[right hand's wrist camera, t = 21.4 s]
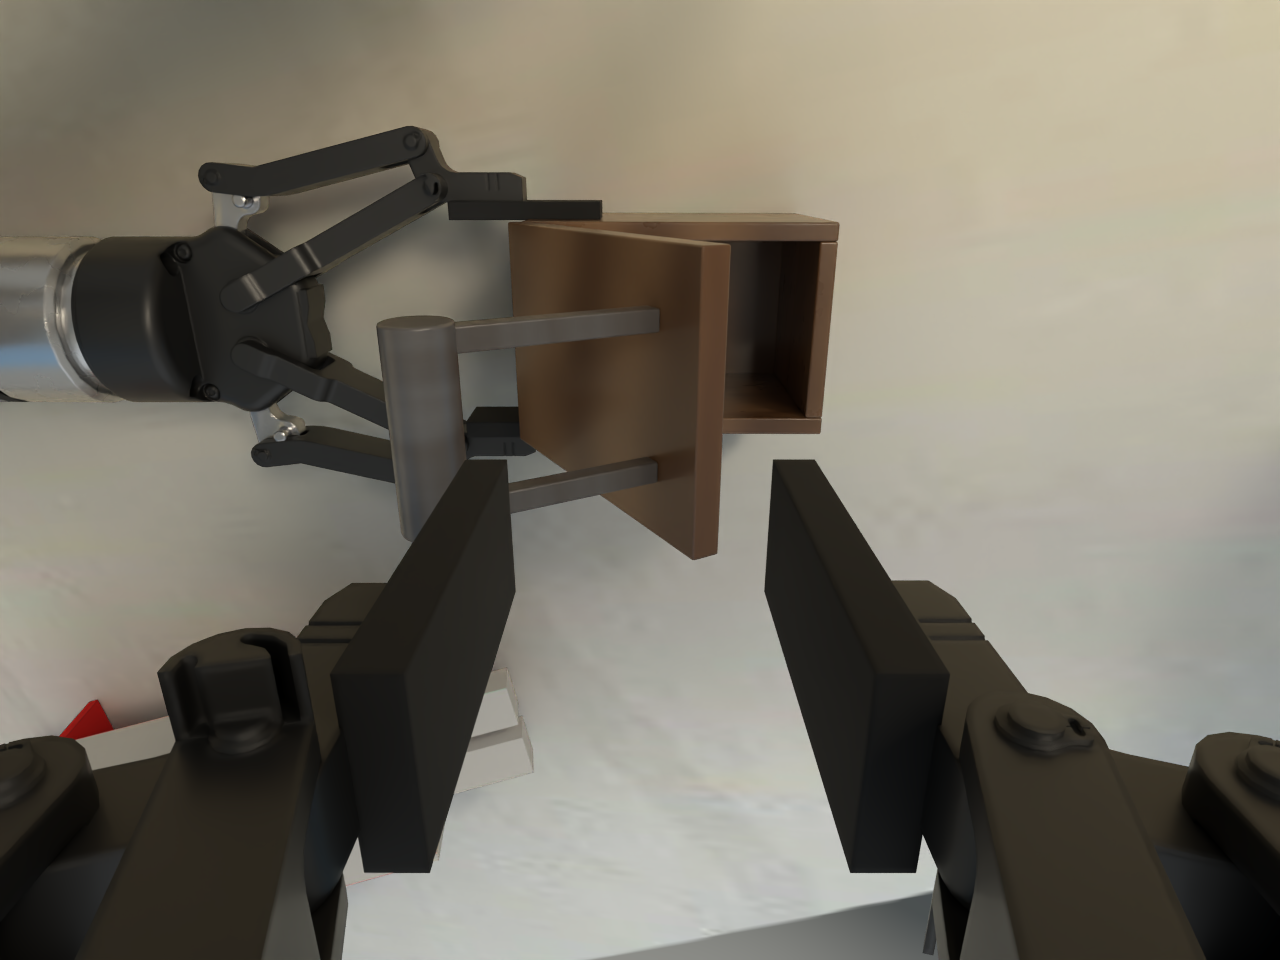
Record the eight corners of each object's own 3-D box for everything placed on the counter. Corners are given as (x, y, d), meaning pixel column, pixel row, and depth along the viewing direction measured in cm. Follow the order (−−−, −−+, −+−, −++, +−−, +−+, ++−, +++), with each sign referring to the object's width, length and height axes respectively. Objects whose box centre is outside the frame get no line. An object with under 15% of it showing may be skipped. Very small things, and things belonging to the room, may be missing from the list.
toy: (547, 864, 44) (7, 1015, 42) (540, 719, 56) (125, 830, 54) (489, 690, 40) (-115, 849, 37) (496, 575, 52) (44, 689, 50)
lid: (732, 244, 20) (393, 259, 16) (718, 554, 24) (434, 633, 19) (529, 221, 31) (296, 227, 27) (539, 435, 35) (333, 470, 30)
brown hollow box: (796, 213, 40) (840, 222, 31) (784, 383, 44) (820, 434, 35) (546, 212, 40) (520, 221, 31) (552, 382, 44) (531, 433, 35)
